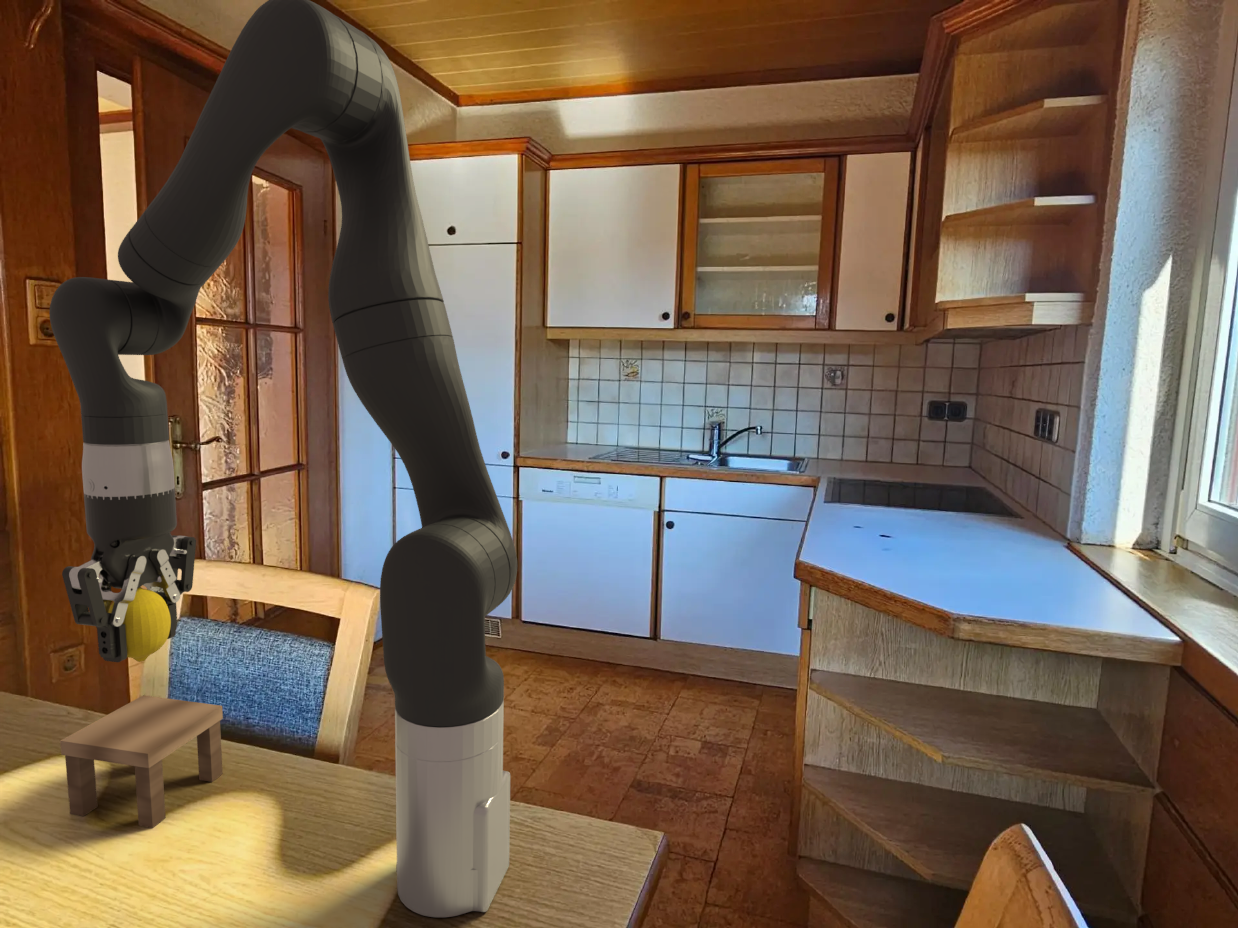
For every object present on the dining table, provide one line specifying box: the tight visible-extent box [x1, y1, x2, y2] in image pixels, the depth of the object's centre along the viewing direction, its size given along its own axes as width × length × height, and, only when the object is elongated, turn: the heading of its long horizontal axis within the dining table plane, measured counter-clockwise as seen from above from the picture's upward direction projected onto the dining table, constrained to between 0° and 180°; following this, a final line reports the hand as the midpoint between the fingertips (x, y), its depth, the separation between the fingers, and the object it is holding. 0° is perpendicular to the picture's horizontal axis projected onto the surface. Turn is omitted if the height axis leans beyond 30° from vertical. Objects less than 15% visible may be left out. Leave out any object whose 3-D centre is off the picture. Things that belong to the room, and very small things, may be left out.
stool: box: [59, 694, 224, 829], centre depth 76 cm, size 10×10×8 cm
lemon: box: [108, 586, 171, 663], centre depth 74 cm, size 6×6×8 cm
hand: (141, 647), depth 74 cm, fingers closed on lemon, 5 cm apart
